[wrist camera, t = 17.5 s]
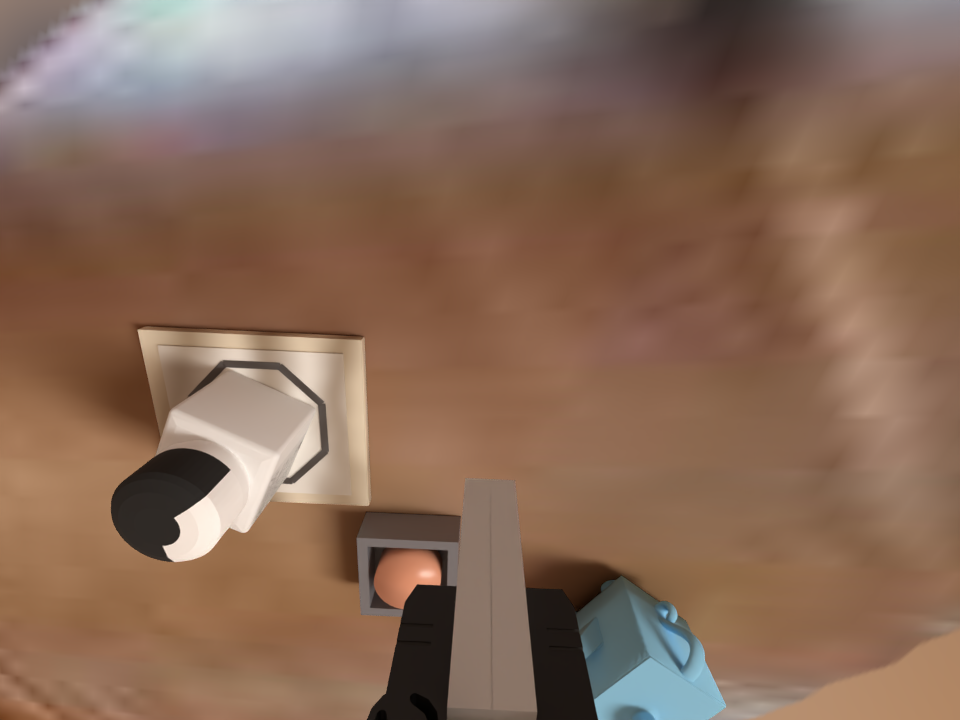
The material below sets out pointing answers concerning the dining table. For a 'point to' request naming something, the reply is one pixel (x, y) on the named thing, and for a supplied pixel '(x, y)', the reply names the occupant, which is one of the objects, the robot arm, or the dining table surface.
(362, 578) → the button box
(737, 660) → the dining table surface
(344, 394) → the drawing board
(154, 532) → the container
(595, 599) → the teapot
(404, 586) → the button
